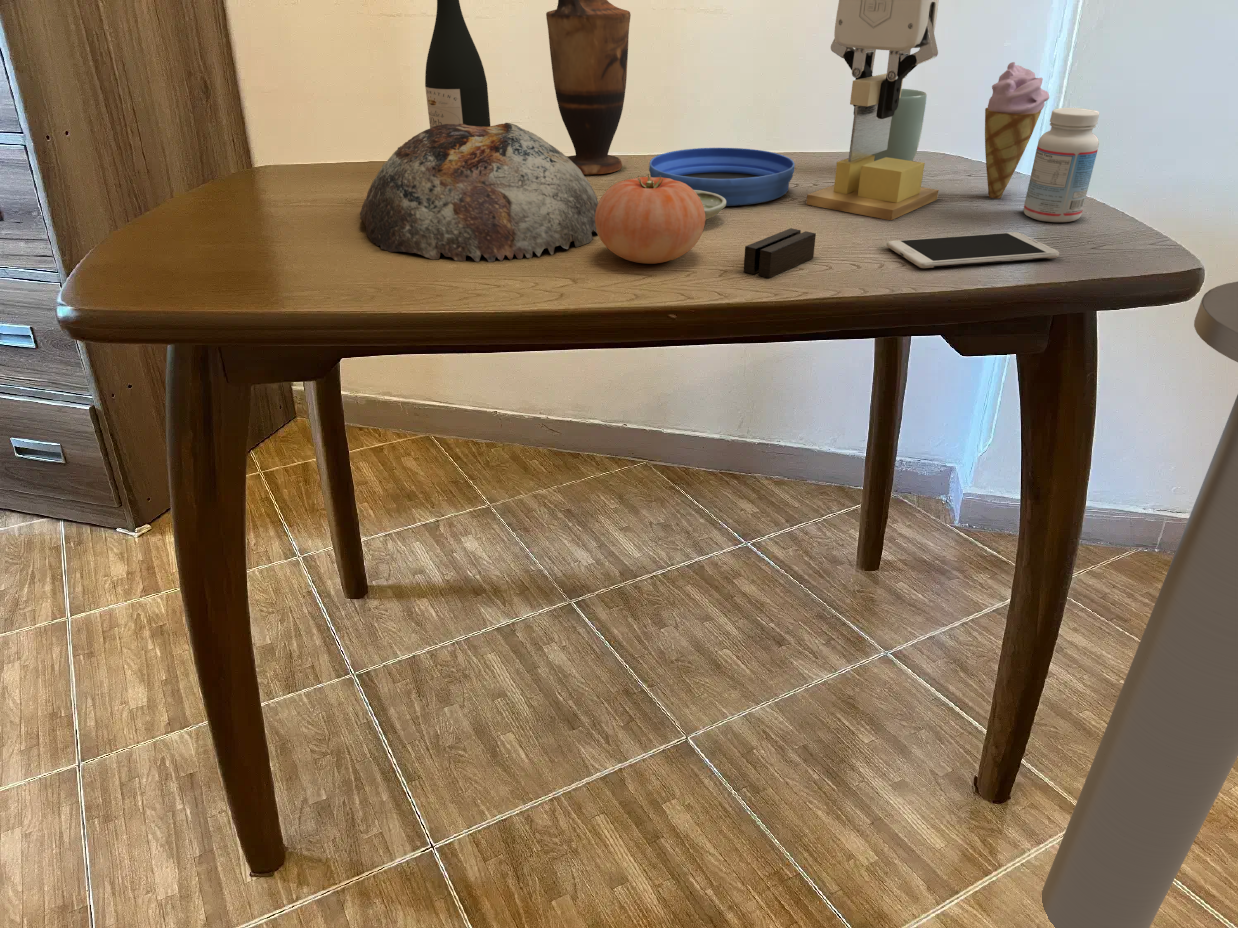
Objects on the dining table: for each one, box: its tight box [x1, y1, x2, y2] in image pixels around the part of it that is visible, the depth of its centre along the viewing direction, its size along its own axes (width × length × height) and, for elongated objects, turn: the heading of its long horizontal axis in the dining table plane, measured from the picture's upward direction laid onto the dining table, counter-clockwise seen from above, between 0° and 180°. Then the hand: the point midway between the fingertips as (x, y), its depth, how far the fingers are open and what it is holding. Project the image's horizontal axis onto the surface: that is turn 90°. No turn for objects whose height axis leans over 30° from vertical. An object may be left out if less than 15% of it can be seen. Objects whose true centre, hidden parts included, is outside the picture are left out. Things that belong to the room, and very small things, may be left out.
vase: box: [545, 0, 631, 176], centre depth 114 cm, size 11×11×30 cm
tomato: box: [595, 172, 706, 265], centre depth 85 cm, size 11×11×8 cm
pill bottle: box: [1023, 107, 1100, 223], centre depth 96 cm, size 6×6×11 cm
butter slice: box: [833, 155, 875, 194], centre depth 105 cm, size 2×6×4 cm, turn 138°
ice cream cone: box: [984, 61, 1050, 199], centre depth 103 cm, size 7×6×15 cm
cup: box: [872, 88, 928, 161], centre depth 117 cm, size 8×8×10 cm
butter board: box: [805, 184, 939, 221], centre depth 105 cm, size 11×12×1 cm
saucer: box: [694, 190, 727, 221], centre depth 98 cm, size 10×10×2 cm
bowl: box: [648, 147, 796, 207], centre depth 110 cm, size 18×18×4 cm
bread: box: [359, 122, 599, 263], centre depth 98 cm, size 27×32×10 cm
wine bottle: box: [424, 0, 491, 129], centre depth 112 cm, size 8×8×30 cm
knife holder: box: [743, 227, 817, 279], centre depth 84 cm, size 3×8×2 cm, turn 138°
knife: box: [848, 72, 904, 162], centre depth 101 cm, size 2×9×8 cm, turn 138°
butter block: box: [858, 157, 926, 203], centre depth 103 cm, size 5×6×4 cm
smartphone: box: [886, 231, 1060, 269], centre depth 87 cm, size 8×1×15 cm
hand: (873, 114), depth 101 cm, fingers closed on knife, 2 cm apart
